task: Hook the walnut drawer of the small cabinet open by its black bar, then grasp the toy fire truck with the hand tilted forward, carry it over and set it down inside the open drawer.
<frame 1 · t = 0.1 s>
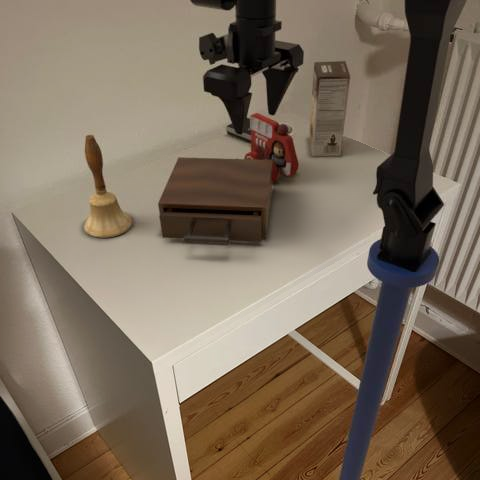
hand: (255, 124, 82), 15 cm above the table, tool pointing down, fingers open, 9 cm apart
external hard drive: (253, 137, 114), on the table
drawer: (215, 210, 85), point 3 cm above the table, slide at 1.0 cm
hand bell: (108, 226, 89), on the table
cabinet: (220, 211, 91), on the table
coffee box: (324, 148, 109), on the table
toy fire truck: (271, 173, 101), on the table
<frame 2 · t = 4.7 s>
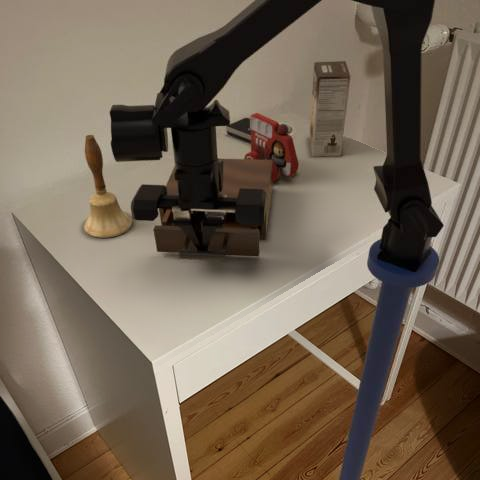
hand: (204, 253, 77), 3 cm above the table, tool pointing down, fingers closed, pressing on drawer
drawer: (212, 223, 83), point 3 cm above the table, slide at 5.0 cm, touching gripper
everything else where it was.
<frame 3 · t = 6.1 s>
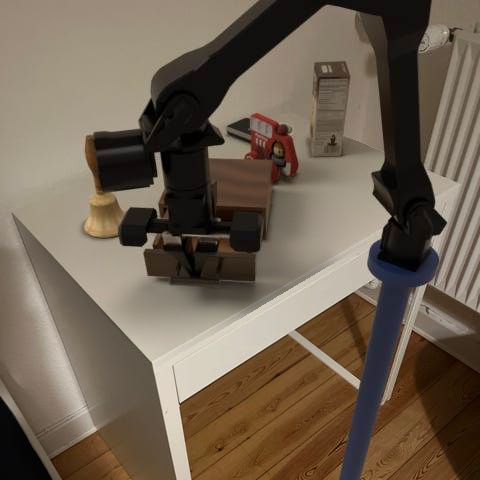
hand: (197, 278, 73), 3 cm above the table, tool pointing down, fingers closed, pressing on drawer
drawer: (205, 245, 78), point 3 cm above the table, slide at 11.2 cm, touching gripper
everything else where it was.
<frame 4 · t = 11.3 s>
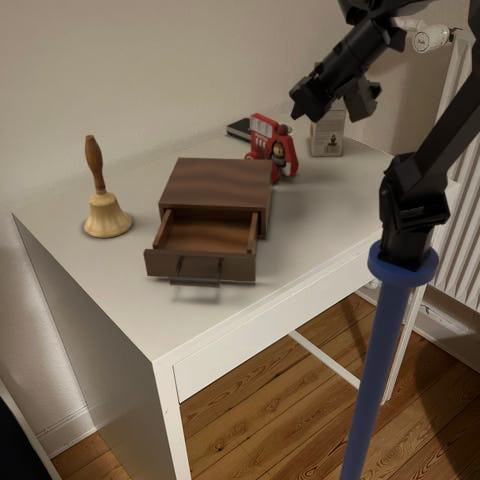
hand: (293, 117, 87), 13 cm above the table, tool tilted 40°, fingers closed
drawer: (205, 245, 78), point 3 cm above the table, slide at 11.3 cm
everything else where it was.
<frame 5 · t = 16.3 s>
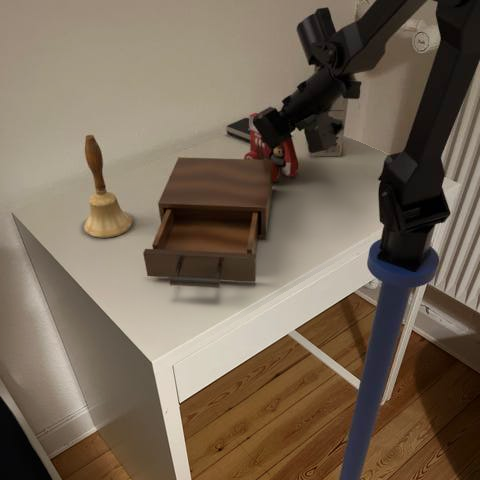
hand: (266, 138, 97), 7 cm above the table, tool tilted 45°, fingers closed on toy fire truck, 2 cm apart
toy fire truck: (271, 173, 101), on the table, touching gripper
everything else where it was.
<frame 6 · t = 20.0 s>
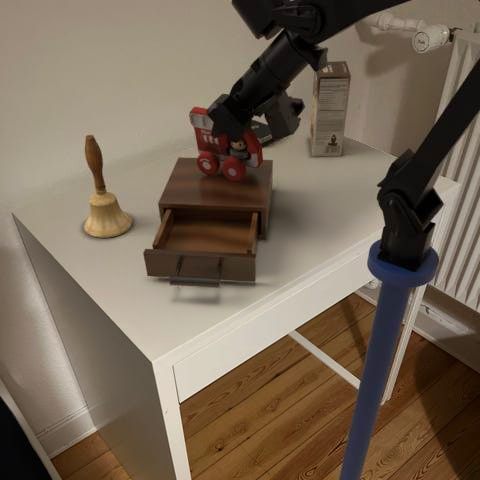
hand: (216, 133, 84), 13 cm above the table, tool tilted 45°, fingers closed on toy fire truck, 2 cm apart
toy fire truck: (230, 168, 89), point 7 cm above the table, touching cabinet, gripper
everything else where it was.
when the fingers open (9 cm above the table, at t = 23.7 s): toy fire truck stays where it is, resting on drawer.
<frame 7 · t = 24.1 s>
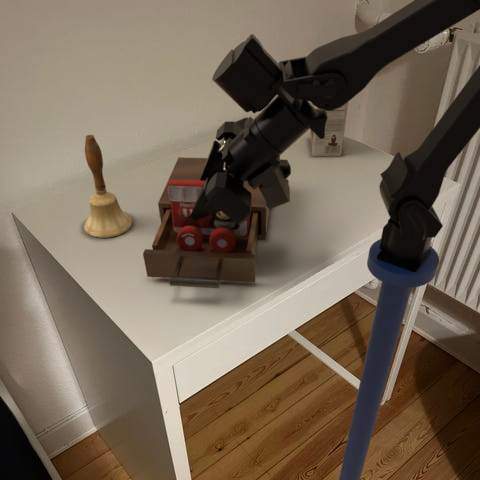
hand: (195, 205, 75), 9 cm above the table, tool tilted 45°, fingers open, 6 cm apart
drawer: (205, 246, 78), point 3 cm above the table, slide at 11.4 cm, touching toy fire truck
toy fire truck: (211, 242, 81), point 2 cm above the table, touching drawer
everything else where it was.
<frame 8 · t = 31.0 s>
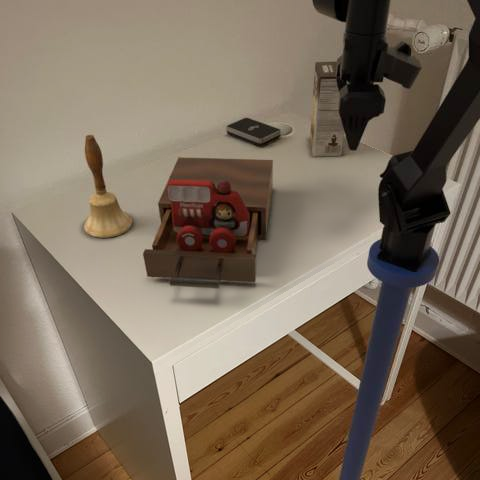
hand: (351, 137, 82), 13 cm above the table, tool pointing down, fingers open, 9 cm apart
nothing on the table moved.
at the end: drawer slide at 11.4 cm; toy fire truck inside the target area in the drawer (1.7 cm from its centre), point 1.8 cm above the cabinet's base; the gripper is holding nothing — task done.
